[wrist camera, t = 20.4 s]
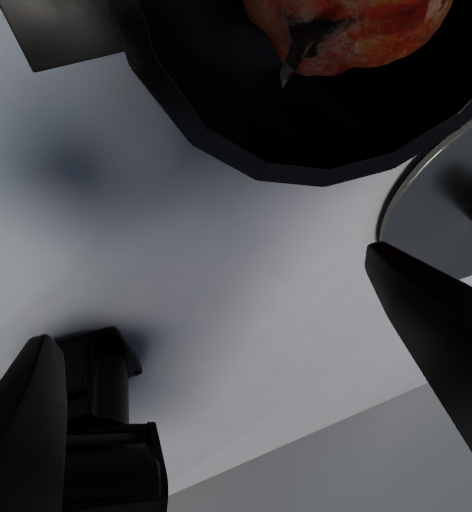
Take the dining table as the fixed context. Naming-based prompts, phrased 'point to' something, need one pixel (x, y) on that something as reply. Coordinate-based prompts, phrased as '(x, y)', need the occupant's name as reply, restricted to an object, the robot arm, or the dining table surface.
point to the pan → (262, 84)
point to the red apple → (344, 31)
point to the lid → (436, 208)
